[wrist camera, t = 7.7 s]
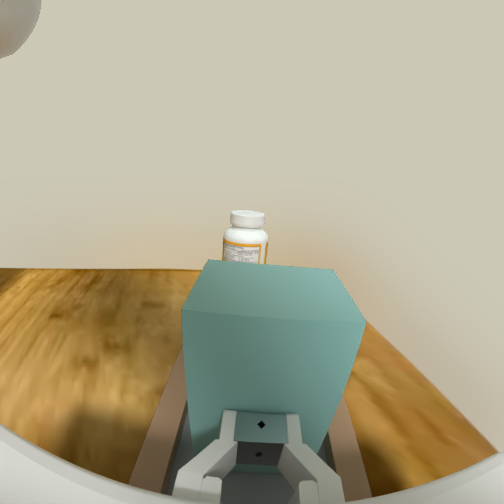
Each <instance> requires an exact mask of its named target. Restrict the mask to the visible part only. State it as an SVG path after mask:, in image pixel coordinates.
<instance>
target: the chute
mask: <svg viewBox="0 0 504 504" xmlns="http://www.w3.org/2000/svg"><path fill="white" fill-rule="evenodd" d="M205 265H206V264H205ZM203 268H204V267H203ZM317 455H318V456H319V457H320V458H321V459H322V460H323V461H324V462H325V463H326V464H327V465H328V466H329V467H330V468H331V469H332V470H333V471H334V472H335V473H336V474H337V475H338V476H340V477H341V482H342V488H343V493H344V498H345V502H349V501H356V500H362V499H367V498H372V494H371V490H370V486H369V482H368V478H367V474H366V471H365V467H364V463H363V460H362V456H361V452H360V449H359V445H358V442H357V438H356V435H355V431H354V428H353V425H352V421H351V418H350V415H349V411H348V408H347V405H346V401H345V398H344V395H343V394H342V397H341V400H340V402H339V405H338V407H337V410H336V412H335V415H334V417H333V420H332V422H331V424H330V427H329V429H328V431H327V434H326V436H325V438H324V440H323V442H322V445H321V447H320V449H319V451H318V453H317ZM193 458H194V453H193V445H192V438H191V430H190V421H189V412H188V402H187V392H186V380H185V367H184V353H183V344H182V347H181V349H180V352H179V354H178V357H177V359H176V361H175V364H174V366H173V369H172V371H171V374H170V376H169V379H168V381H167V384H166V386H165V389H164V391H163V394H162V396H161V399H160V401H159V404H158V406H157V409H156V411H155V414H154V416H153V419H152V422H151V424H150V427H149V429H148V432H147V435H146V437H145V440H144V442H143V445H142V448H141V450H140V453H139V456H138V458H137V461H136V464H135V467H134V469H133V472H132V475H131V478H130V480H129V483H128V485H131V486H134V487H138V488H141V489H145V490H149V491H152V492H156V493H161V494H165V495H169V496H172V493H173V489H174V485H175V481H176V478H177V474H178V470H179V469H181V468H182V467H183V466H184V465H186V464H187V463H188V462H189V461H191V460H192V459H193ZM294 492H295V490H294V489H293V487H292V486H291V485H290V484H289V482H288V481H287V480H286V478H285V477H284V476H283V474H282V473H253V472H238V471H230V472H229V473H228V474H227V475H226V476H225V477H224V478H223V480H222V504H288V503H289V501H290V499H291V497H292V495H293V494H294Z"/></svg>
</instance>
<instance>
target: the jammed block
mask: <svg viewBox="0 0 504 504" xmlns="http://www.w3.org/2000/svg"><path fill="white" fill-rule="evenodd" d="M181 312H182V335H183V353H184V367H185V380H186V392H187V402H188V412H189V421H190V430H191V438H192V445H193V453H194V457H195V456H197V455H198V454H199V453H200V452H201V451H203V450H204V449H205V448H206V447H207V446H208V445H209V444H211V443H212V442H213V441H214V440H215V439H219V437H220V431H221V424H222V417H223V412H224V409H227V410H236V411H246V412H256V413H285V414H298V415H299V421H300V429H301V437H302V444H307V445H308V446H309V447H310V448H311V449H312V450H313V451H314V452H315V453H316V454H317V453H318V451H319V449H320V447H321V445H322V442H323V440H324V438H325V436H326V434H327V431H328V429H329V427H330V424H331V422H332V420H333V417H334V415H335V412H336V410H337V407H338V405H339V402H340V400H341V397H342V394H343V392H344V389H345V386H346V384H347V381H348V378H349V375H350V372H351V370H352V367H353V364H354V361H355V358H356V355H357V351H358V348H359V345H360V342H361V339H362V335H363V332H364V328H365V325H366V320H365V319H364V317H363V315H362V314H361V312H360V311H359V309H358V307H357V306H356V304H355V303H354V301H353V299H352V298H351V296H350V295H349V293H348V292H347V290H346V288H345V287H344V285H343V284H342V282H341V281H340V279H339V278H338V276H337V275H336V273H335V272H334V270H333V269H319V268H306V267H293V266H279V265H268V264H256V263H244V262H232V261H220V260H208V261H207V263H206V265H205V266H204V268H203V270H202V272H201V274H200V275H199V277H198V279H197V281H196V283H195V285H194V286H193V288H192V290H191V292H190V294H189V296H188V298H187V299H186V301H185V303H184V305H183V307H182V309H181ZM231 471H238V472H253V473H281V471H280V470H279V469H278V467H277V466H266V465H246V464H236V465H235V466H234V467H233V469H232V470H231Z"/></svg>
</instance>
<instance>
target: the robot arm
mask: <svg viewBox="0 0 504 504" xmlns="http://www.w3.org/2000/svg"><path fill="white" fill-rule="evenodd" d="M40 9H41V0H0V58H3V57H6V56H9V55H12V54H13V53H15V52H16V51H17V50H18V49H19V48H20V47H21V46H22V45H23V44H24V42H25V41H26V40H27V38H28V37H29V36H30V34H31V33H32V31H33V29H34V27H35V25H36V23H37V20H38V18H39V14H40ZM236 464H246V465H266V466H277V467H278V469H279V470H280V471H281V473H282V474H283V476H284V477H285V478H286V480H287V481H288V482H289V484H290V485H291V486H292V487H293V489H294V490H295V492H294V494H293V495H292V497H291V499H290V501H289V503H288V504H504V452H499V453H496V454H494V455H492V456H490V457H488V458H486V459H484V460H482V461H480V462H478V463H476V464H474V465H472V466H470V467H467V468H465V469H463V470H460V471H458V472H456V473H453V474H451V475H448V476H445V477H443V478H440V479H437V480H434V481H432V482H429V483H426V484H422V485H419V486H416V487H413V488H409V489H406V490H402V491H398V492H394V493H390V494H386V495H382V496H377V497H372V498H367V499H362V500H356V501H349V502H345V498H344V493H343V488H342V482H341V477H340V476H338V475H337V474H336V473H335V472H334V471H333V470H332V469H331V468H330V467H329V466H328V465H327V464H326V463H325V462H324V461H323V460H322V459H321V458H320V457H319V456H318V455H317V454H316V453H315V452H314V451H313V450H312V449H311V448H310V447H309V446H308V445H307V444H302V437H301V429H300V421H299V415H298V414H285V413H256V412H246V411H236V410H227V409H224V412H223V417H222V424H221V431H220V437H219V439H215V440H214V441H213V442H212V443H211V444H209V445H208V446H207V447H206V448H205V449H204V450H203V451H201V452H200V453H199V454H198V455H197V456H195V457H194V458H193V459H192V460H191V461H189V462H188V463H187V464H186V465H184V466H183V467H182V468H181V469H179V470H178V474H177V478H176V481H175V485H174V489H173V493H172V496H169V495H165V494H161V493H156V492H152V491H149V490H145V489H141V488H138V487H134V486H131V485H128V484H124V483H121V482H118V481H115V480H112V479H110V478H107V477H104V476H101V475H99V474H96V473H94V472H91V471H89V470H86V469H84V468H81V467H79V466H77V465H75V464H72V463H70V462H68V461H66V460H64V459H62V458H60V457H58V456H56V455H54V454H52V453H50V452H48V451H46V450H44V449H42V448H40V447H38V446H37V445H35V444H33V443H31V442H30V441H28V440H26V439H25V438H23V437H21V436H20V435H18V434H17V433H15V432H13V431H12V430H10V429H9V428H7V427H6V426H4V425H3V424H1V423H0V504H222V480H223V478H224V477H225V476H226V475H227V474H228V473H229V472H230V471H231V470H232V469H233V467H234V466H235V465H236Z"/></svg>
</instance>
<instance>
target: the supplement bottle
mask: <svg viewBox="0 0 504 504" xmlns="http://www.w3.org/2000/svg"><path fill="white" fill-rule="evenodd" d="M264 219H265V214H263V213H260V212H256V211H249V210H235V211H231V216H230V222H231V224H232V227H230V228H228V229H227V230H226V231H225V233H224V237H223V257H222V261H232V262H244V263H256V264H266V256H267V246H268V235H267V233H266V232H265V231H263V230H262V229H261V227H263V225H264Z"/></svg>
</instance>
